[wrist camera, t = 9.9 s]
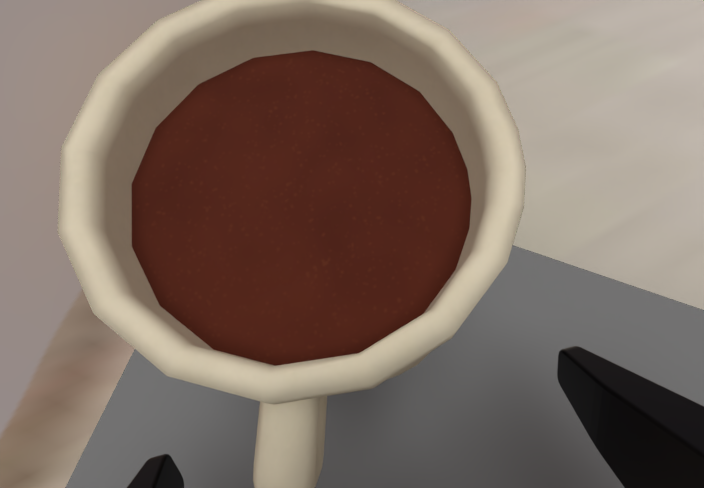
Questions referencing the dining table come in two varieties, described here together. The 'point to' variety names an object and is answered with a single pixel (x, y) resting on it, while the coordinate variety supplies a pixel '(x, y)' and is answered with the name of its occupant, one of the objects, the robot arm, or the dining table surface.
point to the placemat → (430, 397)
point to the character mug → (290, 203)
